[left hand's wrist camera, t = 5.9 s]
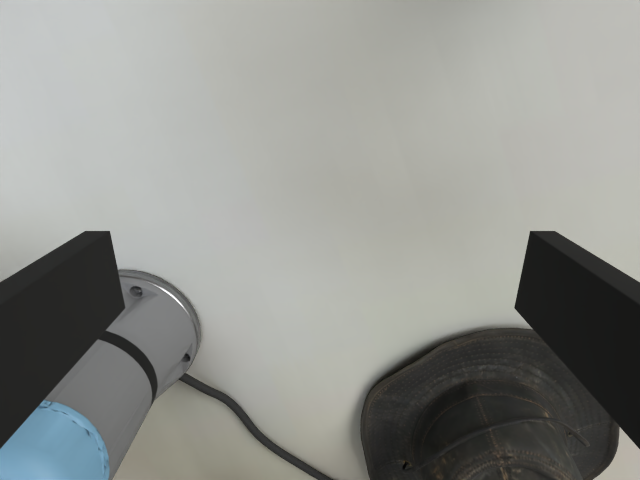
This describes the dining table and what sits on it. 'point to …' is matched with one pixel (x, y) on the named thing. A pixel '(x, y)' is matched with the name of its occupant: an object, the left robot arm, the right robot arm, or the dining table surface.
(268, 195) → the dining table surface
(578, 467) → the hat
